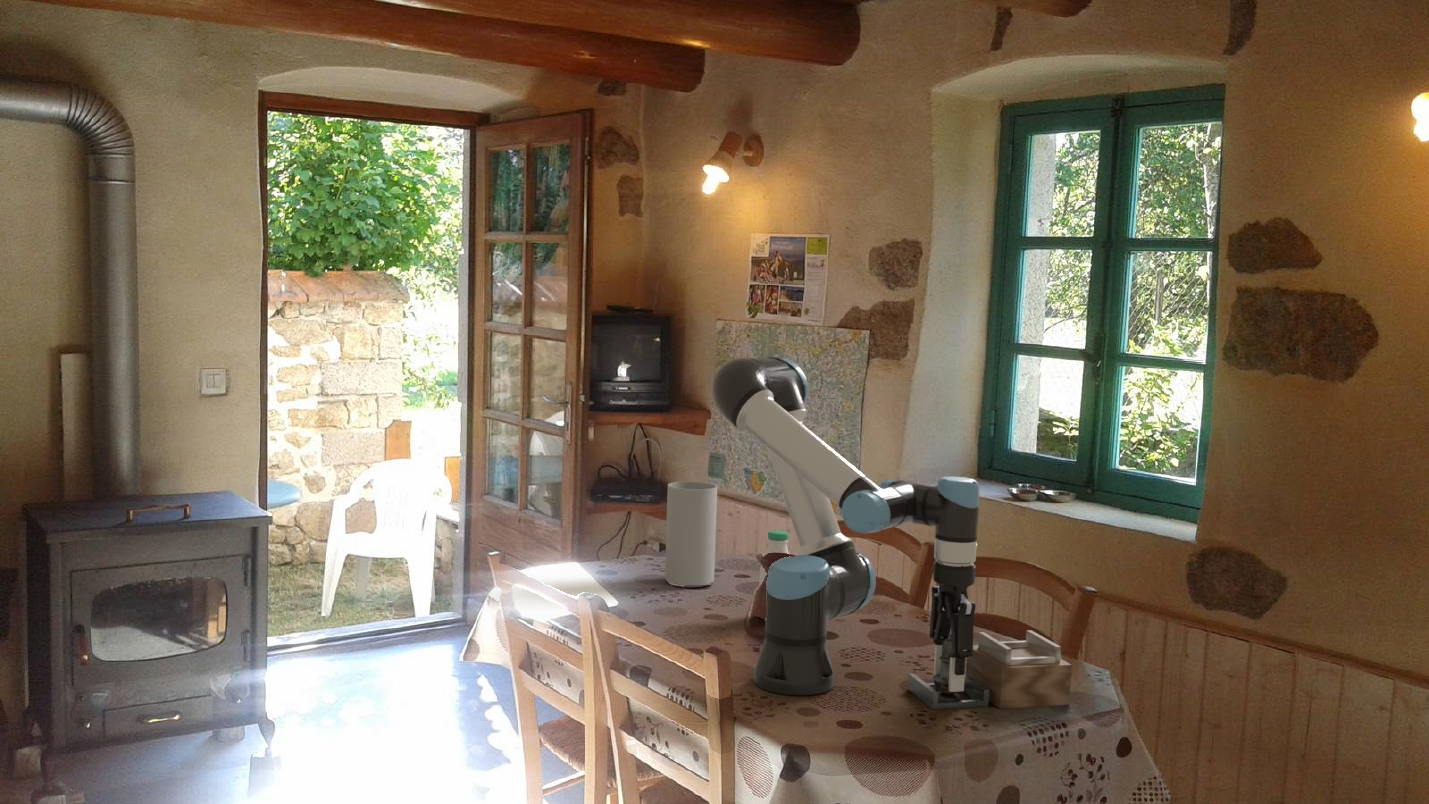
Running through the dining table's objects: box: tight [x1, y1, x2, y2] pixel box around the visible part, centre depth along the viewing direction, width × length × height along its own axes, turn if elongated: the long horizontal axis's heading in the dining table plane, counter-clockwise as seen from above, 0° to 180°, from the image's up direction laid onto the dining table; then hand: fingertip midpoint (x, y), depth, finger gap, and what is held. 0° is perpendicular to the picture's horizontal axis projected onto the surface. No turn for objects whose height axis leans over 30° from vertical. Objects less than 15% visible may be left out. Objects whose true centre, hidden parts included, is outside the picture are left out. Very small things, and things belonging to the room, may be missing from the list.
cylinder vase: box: [664, 481, 718, 585], centre depth 302 cm, size 12×12×25 cm
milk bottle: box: [758, 529, 790, 587], centre depth 271 cm, size 8×8×20 cm
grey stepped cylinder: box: [932, 633, 965, 701], centre depth 220 cm, size 6×6×12 cm
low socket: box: [907, 672, 990, 710], centre depth 221 cm, size 11×11×3 cm
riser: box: [965, 629, 1073, 709], centre depth 224 cm, size 14×14×10 cm
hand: (948, 684), depth 221 cm, fingers closed on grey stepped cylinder, 6 cm apart
